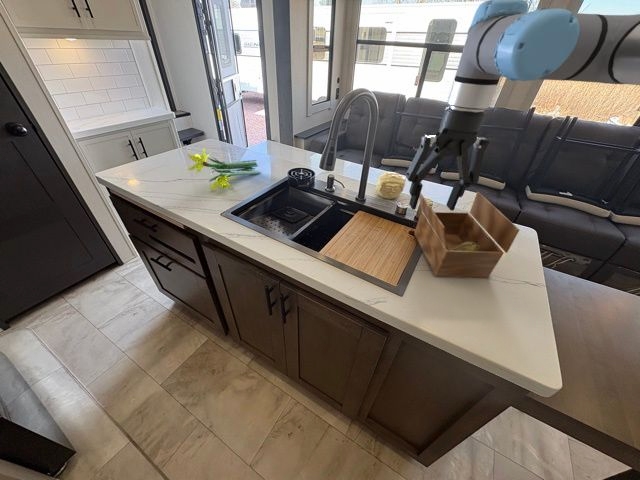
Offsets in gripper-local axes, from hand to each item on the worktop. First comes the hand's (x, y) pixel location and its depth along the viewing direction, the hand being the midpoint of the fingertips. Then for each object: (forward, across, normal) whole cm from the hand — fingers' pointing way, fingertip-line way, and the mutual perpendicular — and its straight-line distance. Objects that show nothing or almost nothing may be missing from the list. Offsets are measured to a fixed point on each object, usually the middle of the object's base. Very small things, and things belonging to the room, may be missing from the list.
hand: (431, 207), depth 64 cm
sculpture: (+22, -4, -47) cm, 52 cm away
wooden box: (+21, -15, -8) cm, 27 cm away
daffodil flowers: (+22, +68, -56) cm, 90 cm away
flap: (+8, -5, -7) cm, 12 cm away
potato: (+21, -14, -2) cm, 26 cm away
